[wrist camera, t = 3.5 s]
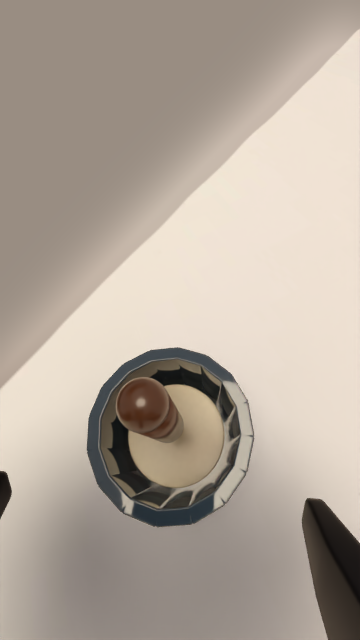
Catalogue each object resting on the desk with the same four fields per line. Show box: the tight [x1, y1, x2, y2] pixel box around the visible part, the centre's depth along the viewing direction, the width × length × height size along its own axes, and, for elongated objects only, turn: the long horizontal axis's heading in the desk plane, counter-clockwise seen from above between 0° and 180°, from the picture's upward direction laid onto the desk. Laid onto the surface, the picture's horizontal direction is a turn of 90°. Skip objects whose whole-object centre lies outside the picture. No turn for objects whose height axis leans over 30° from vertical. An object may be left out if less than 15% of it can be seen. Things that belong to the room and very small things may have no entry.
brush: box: [116, 377, 224, 488], centre depth 13 cm, size 5×5×14 cm
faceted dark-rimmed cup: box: [87, 347, 254, 527], centre depth 16 cm, size 7×7×8 cm
